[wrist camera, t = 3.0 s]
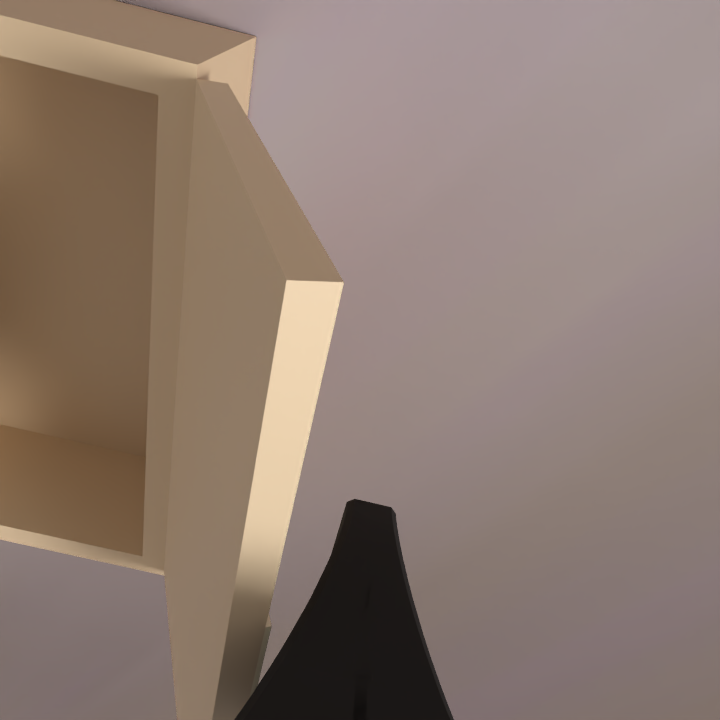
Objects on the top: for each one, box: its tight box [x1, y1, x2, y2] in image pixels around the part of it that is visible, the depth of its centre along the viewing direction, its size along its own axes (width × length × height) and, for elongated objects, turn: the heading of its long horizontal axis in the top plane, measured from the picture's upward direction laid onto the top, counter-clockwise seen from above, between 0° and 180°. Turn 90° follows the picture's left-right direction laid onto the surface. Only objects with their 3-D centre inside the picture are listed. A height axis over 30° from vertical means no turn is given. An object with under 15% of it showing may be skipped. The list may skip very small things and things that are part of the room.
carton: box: [0, 0, 256, 575], centre depth 15 cm, size 13×7×4 cm, turn 168°
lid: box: [164, 79, 344, 720], centre depth 11 cm, size 13×6×1 cm
